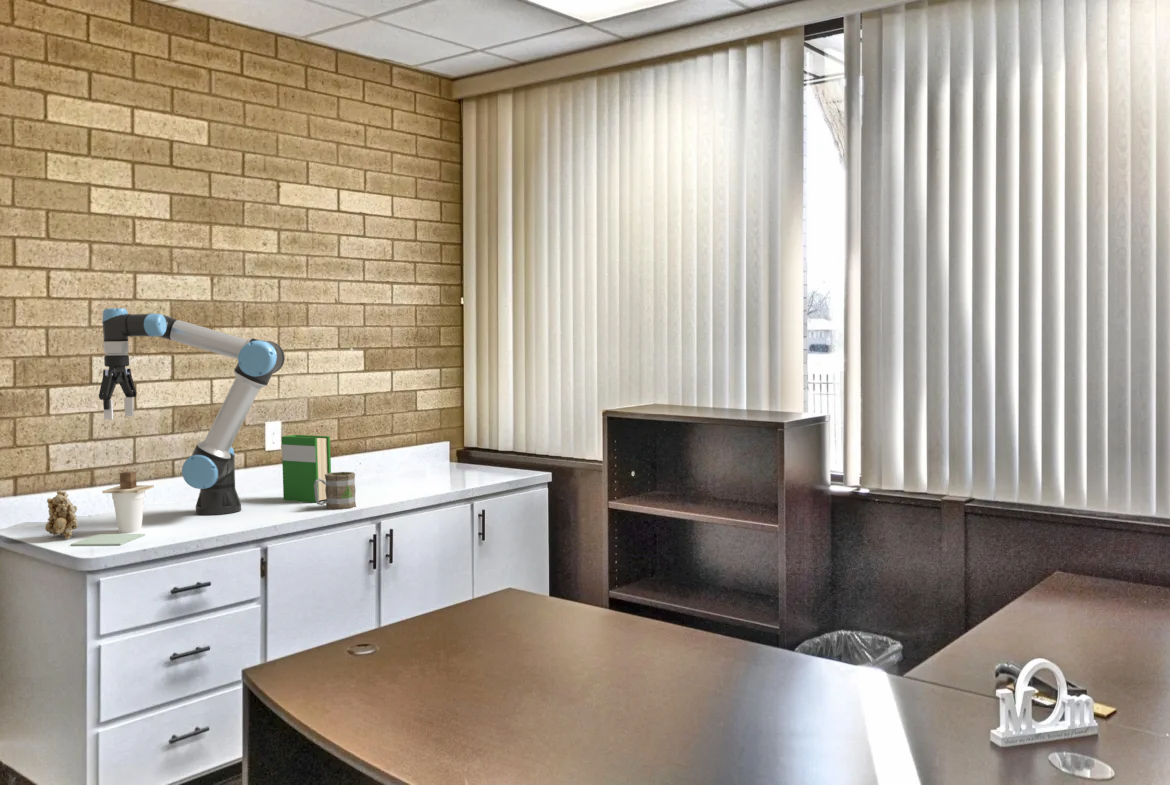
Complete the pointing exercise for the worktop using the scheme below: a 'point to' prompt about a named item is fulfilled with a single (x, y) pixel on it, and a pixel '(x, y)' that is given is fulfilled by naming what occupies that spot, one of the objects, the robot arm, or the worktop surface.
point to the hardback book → (305, 466)
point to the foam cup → (129, 511)
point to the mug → (338, 490)
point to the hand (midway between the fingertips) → (119, 418)
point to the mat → (107, 539)
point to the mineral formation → (61, 515)
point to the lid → (128, 484)
